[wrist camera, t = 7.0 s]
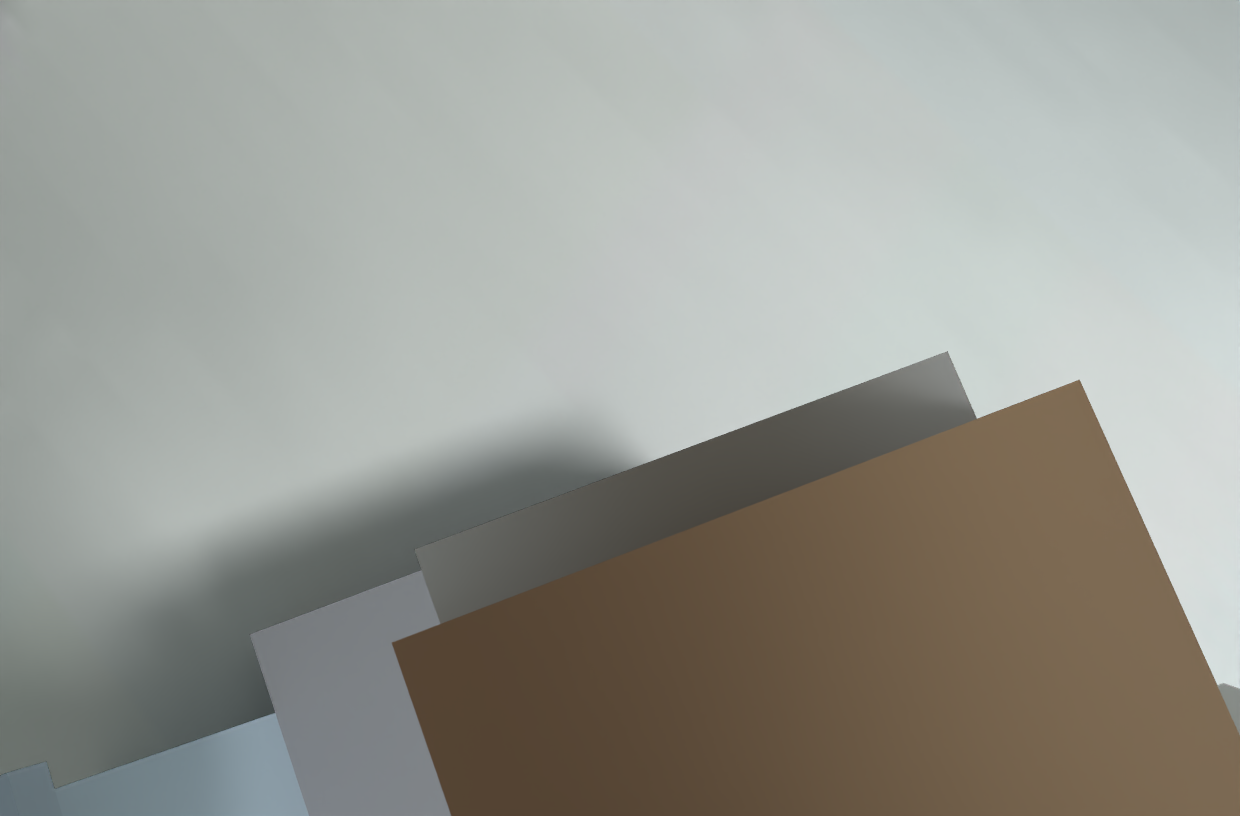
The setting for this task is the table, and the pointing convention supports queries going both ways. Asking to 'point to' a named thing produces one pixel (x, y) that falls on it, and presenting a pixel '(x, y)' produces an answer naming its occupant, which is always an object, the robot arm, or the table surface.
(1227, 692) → the robot arm
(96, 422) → the table surface
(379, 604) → the grey l-shaped post
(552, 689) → the brown rectangular block
